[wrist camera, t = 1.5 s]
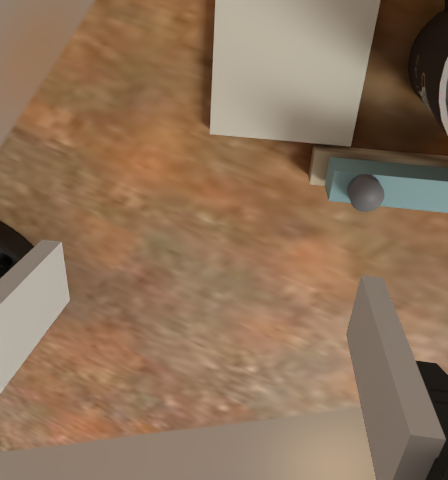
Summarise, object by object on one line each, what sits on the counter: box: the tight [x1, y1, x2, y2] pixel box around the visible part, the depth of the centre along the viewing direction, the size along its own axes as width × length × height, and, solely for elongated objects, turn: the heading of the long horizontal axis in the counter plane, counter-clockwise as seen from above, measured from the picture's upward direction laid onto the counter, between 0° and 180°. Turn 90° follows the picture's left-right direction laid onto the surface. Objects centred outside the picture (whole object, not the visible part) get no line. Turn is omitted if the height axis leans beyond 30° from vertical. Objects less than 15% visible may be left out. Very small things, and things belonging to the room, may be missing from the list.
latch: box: [325, 157, 448, 213], centre depth 27 cm, size 14×2×4 cm, turn 87°
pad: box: [210, 0, 380, 147], centre depth 28 cm, size 10×10×1 cm
